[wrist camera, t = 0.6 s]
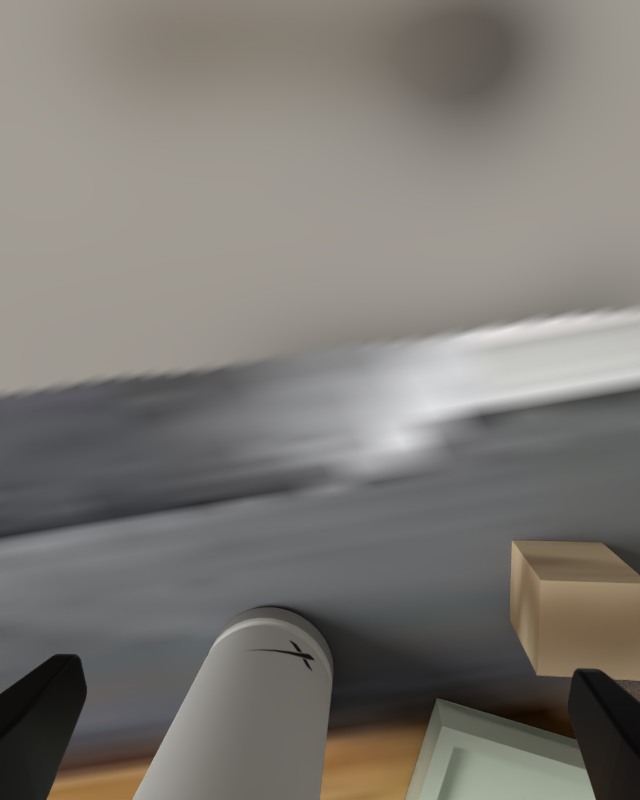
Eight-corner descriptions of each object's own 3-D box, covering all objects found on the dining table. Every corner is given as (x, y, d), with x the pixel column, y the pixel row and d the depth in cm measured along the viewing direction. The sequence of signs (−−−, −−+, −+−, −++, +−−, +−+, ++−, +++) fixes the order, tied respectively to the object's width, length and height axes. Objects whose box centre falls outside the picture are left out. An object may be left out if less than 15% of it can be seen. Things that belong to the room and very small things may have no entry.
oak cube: (596, 622, 23) (643, 680, 19) (509, 619, 23) (537, 675, 20) (600, 541, 23) (649, 583, 19) (511, 539, 23) (540, 580, 19)
